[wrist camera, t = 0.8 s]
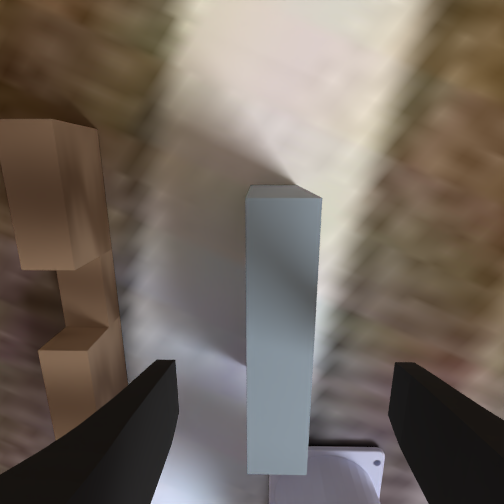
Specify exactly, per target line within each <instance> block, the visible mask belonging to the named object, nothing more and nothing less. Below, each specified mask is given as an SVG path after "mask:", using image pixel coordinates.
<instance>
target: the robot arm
mask: <svg viewBox="0 0 504 504" xmlns="http://www.w3.org/2000/svg"><path fill="white" fill-rule="evenodd" d="M178 414H179V405H178V391H177V378H176V364H175V360H156V361H155V362H154V363H152V364H151V365H150V366H149V367H148V368H147V369H146V370H145V371H143V372H142V373H141V374H140V375H139V376H138V377H137V378H136V379H134V380H133V381H132V382H131V383H130V384H129V385H128V386H126V387H125V388H124V389H123V390H122V391H121V392H119V393H118V394H117V395H116V396H115V397H114V398H112V399H111V400H110V401H109V402H107V403H106V404H105V405H104V406H102V407H101V408H100V409H99V410H97V411H96V412H95V413H93V414H92V415H91V416H90V417H88V418H87V419H86V420H85V421H83V422H82V423H81V424H79V425H78V426H76V427H75V428H74V429H72V430H71V431H69V432H68V433H67V434H65V435H64V436H62V437H61V438H59V439H58V440H56V441H55V442H53V443H52V444H50V445H49V446H47V447H46V448H44V449H43V450H41V451H39V452H38V453H36V454H34V455H33V456H31V457H29V458H28V459H26V460H24V461H23V462H21V463H19V464H18V465H16V466H14V467H13V468H11V469H9V470H7V471H6V472H4V473H2V474H1V475H0V504H151V501H152V498H153V495H154V492H155V490H156V487H157V484H158V481H159V478H160V476H161V473H162V470H163V467H164V464H165V461H166V459H167V456H168V453H169V450H170V447H171V444H172V440H173V436H174V432H175V428H176V423H177V419H178ZM388 416H389V419H390V422H391V425H392V427H393V430H394V433H395V436H396V438H397V441H398V443H399V446H400V448H401V450H402V452H403V454H404V456H405V458H406V460H407V462H408V464H409V466H410V468H411V470H412V472H413V474H414V476H415V478H416V480H417V482H418V484H419V486H420V488H421V490H422V492H423V494H424V495H425V497H426V499H427V501H428V503H429V504H504V420H502V419H501V418H499V417H497V416H496V415H494V414H493V413H491V412H489V411H488V410H486V409H485V408H483V407H482V406H480V405H478V404H477V403H475V402H474V401H472V400H471V399H469V398H468V397H466V396H465V395H463V394H462V393H460V392H459V391H457V390H456V389H454V388H453V387H451V386H450V385H448V384H447V383H445V382H444V381H442V380H441V379H439V378H438V377H436V376H435V375H433V374H432V373H430V372H429V371H427V370H426V369H424V368H422V367H421V366H419V365H417V364H416V363H412V362H395V367H394V374H393V381H392V389H391V396H390V404H389V411H388ZM384 459H385V455H384V452H383V450H382V449H381V448H378V447H332V446H308V461H307V475H269V504H380V501H379V496H380V489H381V481H382V474H383V467H384ZM375 460H377V461H375Z"/></svg>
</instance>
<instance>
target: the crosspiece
mask: <svg viewBox="0 0 504 504" xmlns="http://www.w3.org/2000/svg"><path fill="white" fill-rule="evenodd" d="M245 199H246V359H247V474H267V475H307V461H308V443H309V425H310V407H311V389H312V371H313V353H314V335H315V317H316V299H317V281H318V264H319V246H320V228H321V210H322V198H321V197H319V196H317V195H315V194H313V193H311V192H309V191H307V190H305V189H303V188H301V187H300V186H298V185H251V186H250V188H249V191H248V193H247V196H246V198H245Z"/></svg>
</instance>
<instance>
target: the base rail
mask: <svg viewBox="0 0 504 504" xmlns="http://www.w3.org/2000/svg"><path fill="white" fill-rule="evenodd" d="M0 163H1V168H2V173H3V178H4V183H5V188H6V193H7V198H8V203H9V208H10V213H11V218H12V223H13V228H14V233H15V238H16V243H17V248H18V253H19V258H20V263H21V268H22V270H56V272H57V278H58V283H59V289H60V295H61V301H62V307H63V313H64V319H65V325H66V327H65V328H64V329H63V330H62V331H60V332H59V333H58V334H57V335H56V336H54V337H53V338H52V339H51V340H50V341H49V342H47V343H46V344H45V345H44V346H43V347H41V348H40V349H39V350H38V354H39V359H40V364H41V369H42V374H43V379H44V384H45V389H46V394H47V399H48V404H49V409H50V414H51V419H52V424H53V429H54V434H55V439H56V440H58V439H59V438H61V437H62V436H64V435H65V434H67V433H68V432H69V431H71V430H72V429H74V428H75V427H76V426H78V425H79V424H81V423H82V422H83V421H85V420H86V419H87V418H88V417H90V416H91V415H92V414H93V413H95V412H96V411H97V410H99V409H100V408H101V407H102V406H104V405H105V404H106V403H107V402H109V401H110V400H111V399H112V398H114V397H115V396H116V395H117V394H118V393H119V392H121V391H122V390H123V389H124V388H125V387H126V386H128V381H127V372H126V364H125V356H124V347H123V339H122V331H121V322H120V314H119V305H118V297H117V289H116V280H115V272H114V264H113V255H112V247H111V239H110V230H109V222H108V213H107V205H106V197H105V188H104V180H103V172H102V163H101V155H100V146H99V138H98V130H97V129H94V128H90V127H85V126H81V125H77V124H72V123H68V122H63V121H59V120H55V119H0Z"/></svg>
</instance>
